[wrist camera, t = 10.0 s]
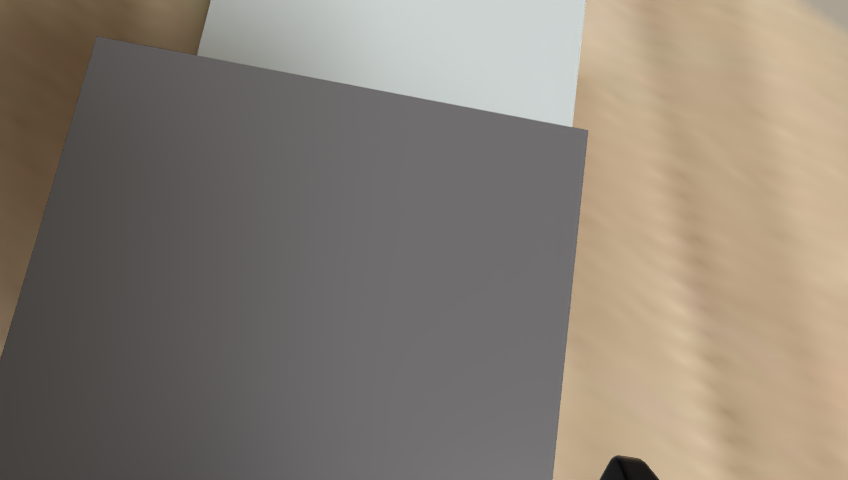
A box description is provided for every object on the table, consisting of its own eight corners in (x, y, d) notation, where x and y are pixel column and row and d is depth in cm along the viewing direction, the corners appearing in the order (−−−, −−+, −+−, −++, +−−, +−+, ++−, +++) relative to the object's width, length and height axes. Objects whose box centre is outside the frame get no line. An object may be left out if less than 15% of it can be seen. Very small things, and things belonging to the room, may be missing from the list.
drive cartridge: (401, 480, 17) (518, 816, 4) (238, 457, 16) (-115, 748, 4) (431, 279, 18) (589, 110, 6) (281, 254, 17) (102, 17, 5)
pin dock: (496, 678, 17) (543, 787, 13) (71, 628, 16) (-34, 726, 12) (572, 6, 22) (626, -82, 17) (243, -62, 21) (212, -173, 17)
